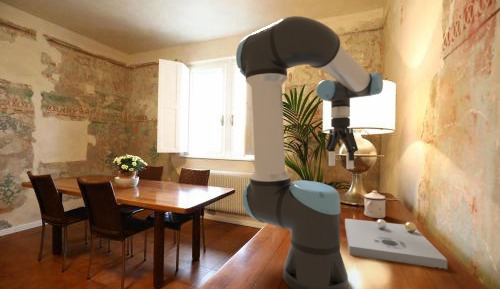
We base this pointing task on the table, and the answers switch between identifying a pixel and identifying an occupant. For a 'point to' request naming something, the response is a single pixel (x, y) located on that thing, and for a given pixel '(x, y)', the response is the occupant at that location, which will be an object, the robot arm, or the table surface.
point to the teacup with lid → (374, 205)
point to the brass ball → (410, 227)
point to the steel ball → (381, 224)
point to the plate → (391, 244)
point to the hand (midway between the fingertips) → (340, 167)
